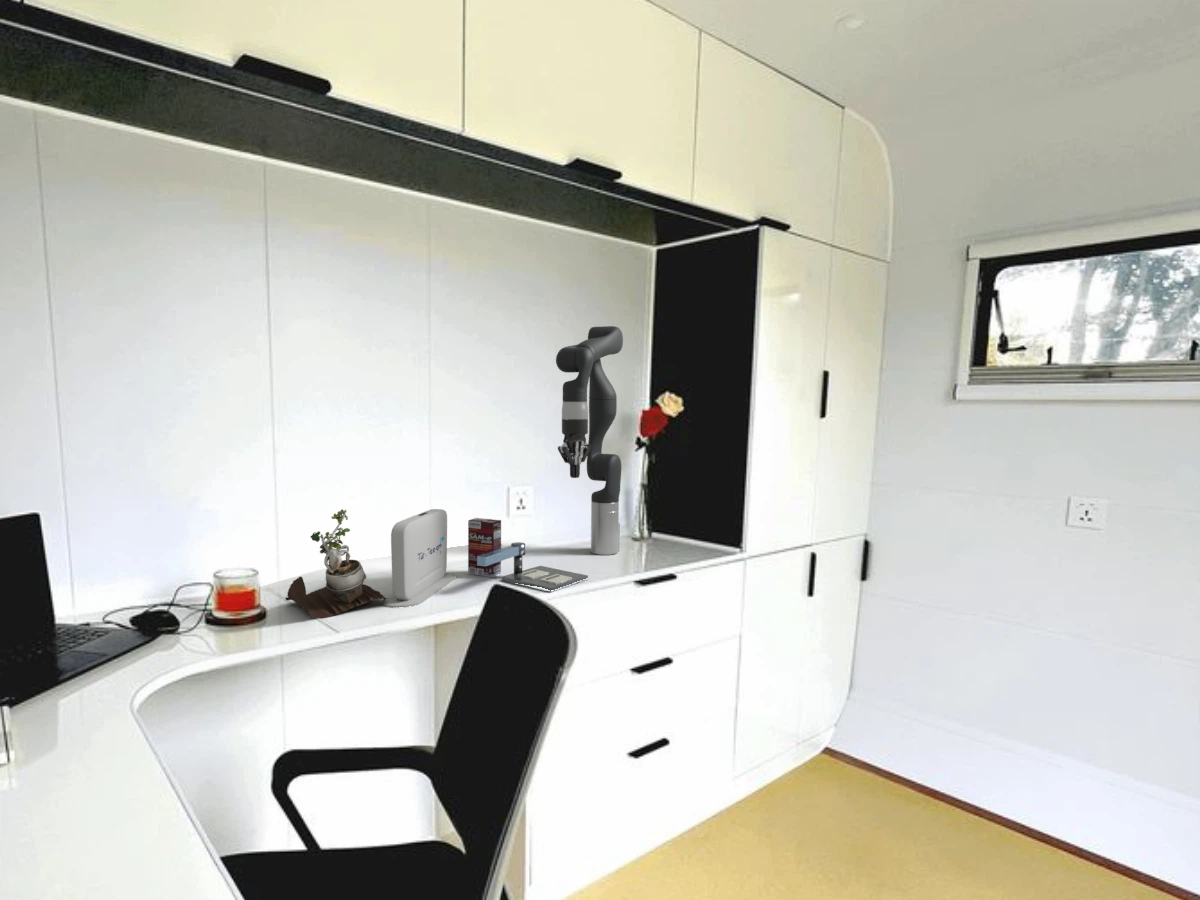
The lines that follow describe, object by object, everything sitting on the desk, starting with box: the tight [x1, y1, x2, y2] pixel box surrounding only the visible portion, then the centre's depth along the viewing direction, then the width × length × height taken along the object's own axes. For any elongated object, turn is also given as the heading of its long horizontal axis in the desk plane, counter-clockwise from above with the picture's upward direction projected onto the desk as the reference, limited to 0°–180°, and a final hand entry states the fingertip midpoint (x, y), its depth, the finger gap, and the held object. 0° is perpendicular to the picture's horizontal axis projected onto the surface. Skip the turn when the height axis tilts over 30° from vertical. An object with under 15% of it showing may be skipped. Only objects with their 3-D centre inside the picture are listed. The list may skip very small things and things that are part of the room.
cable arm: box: [477, 541, 526, 566], centre depth 174 cm, size 19×4×3 cm, turn 153°
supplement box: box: [467, 517, 502, 578], centre depth 183 cm, size 9×5×16 cm, turn 68°
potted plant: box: [284, 508, 388, 619], centre depth 151 cm, size 20×19×25 cm
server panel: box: [501, 555, 589, 591], centre depth 177 cm, size 16×19×6 cm
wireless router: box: [382, 508, 457, 609], centre depth 166 cm, size 31×10×20 cm, turn 172°
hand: (574, 477), depth 183 cm, fingers closed
